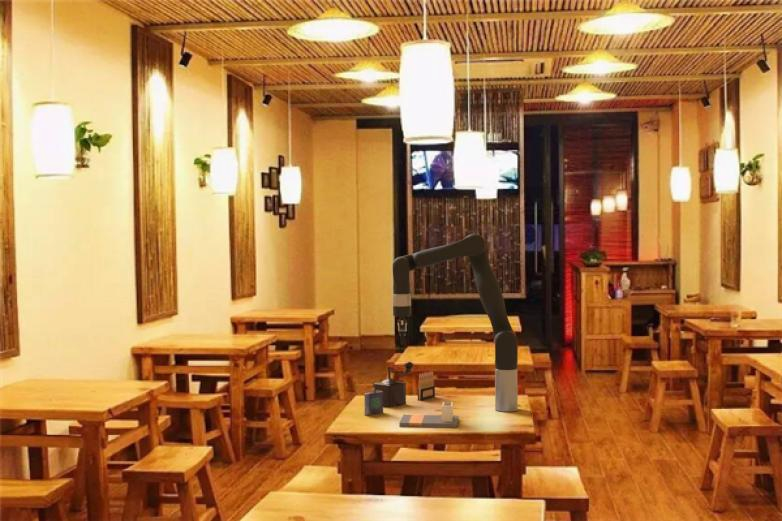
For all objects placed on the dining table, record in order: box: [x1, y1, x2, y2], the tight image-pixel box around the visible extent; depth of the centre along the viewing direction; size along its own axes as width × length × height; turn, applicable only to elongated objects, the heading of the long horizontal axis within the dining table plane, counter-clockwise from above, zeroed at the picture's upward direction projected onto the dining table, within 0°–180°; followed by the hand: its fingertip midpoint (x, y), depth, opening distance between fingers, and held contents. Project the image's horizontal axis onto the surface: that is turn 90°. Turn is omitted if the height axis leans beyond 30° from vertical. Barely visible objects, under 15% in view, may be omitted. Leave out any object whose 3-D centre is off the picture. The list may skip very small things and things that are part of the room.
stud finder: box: [441, 401, 454, 422], centre depth 364 cm, size 4×8×6 cm, turn 173°
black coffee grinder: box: [372, 361, 414, 409], centre depth 404 cm, size 16×11×18 cm
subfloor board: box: [398, 414, 460, 429], centre depth 365 cm, size 22×15×2 cm
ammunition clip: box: [417, 370, 436, 402], centre depth 414 cm, size 11×2×12 cm, turn 142°
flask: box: [363, 387, 384, 417], centre depth 383 cm, size 9×3×11 cm, turn 129°
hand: (402, 343), depth 390 cm, fingers open, 8 cm apart
